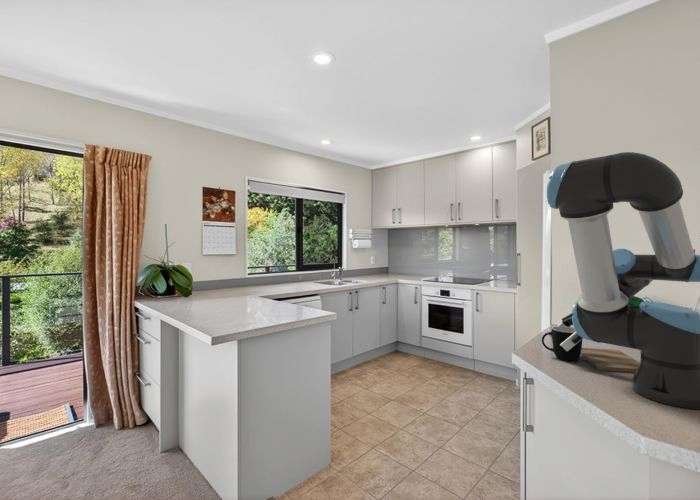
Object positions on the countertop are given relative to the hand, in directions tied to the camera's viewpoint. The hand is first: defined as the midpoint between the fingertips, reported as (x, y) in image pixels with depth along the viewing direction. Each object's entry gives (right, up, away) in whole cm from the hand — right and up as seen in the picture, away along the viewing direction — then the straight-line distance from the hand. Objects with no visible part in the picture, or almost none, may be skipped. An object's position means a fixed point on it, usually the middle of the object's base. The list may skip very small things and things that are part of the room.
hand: (556, 342), depth 116 cm
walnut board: (+15, -5, -5) cm, 16 cm away
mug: (+1, -5, -1) cm, 6 cm away
